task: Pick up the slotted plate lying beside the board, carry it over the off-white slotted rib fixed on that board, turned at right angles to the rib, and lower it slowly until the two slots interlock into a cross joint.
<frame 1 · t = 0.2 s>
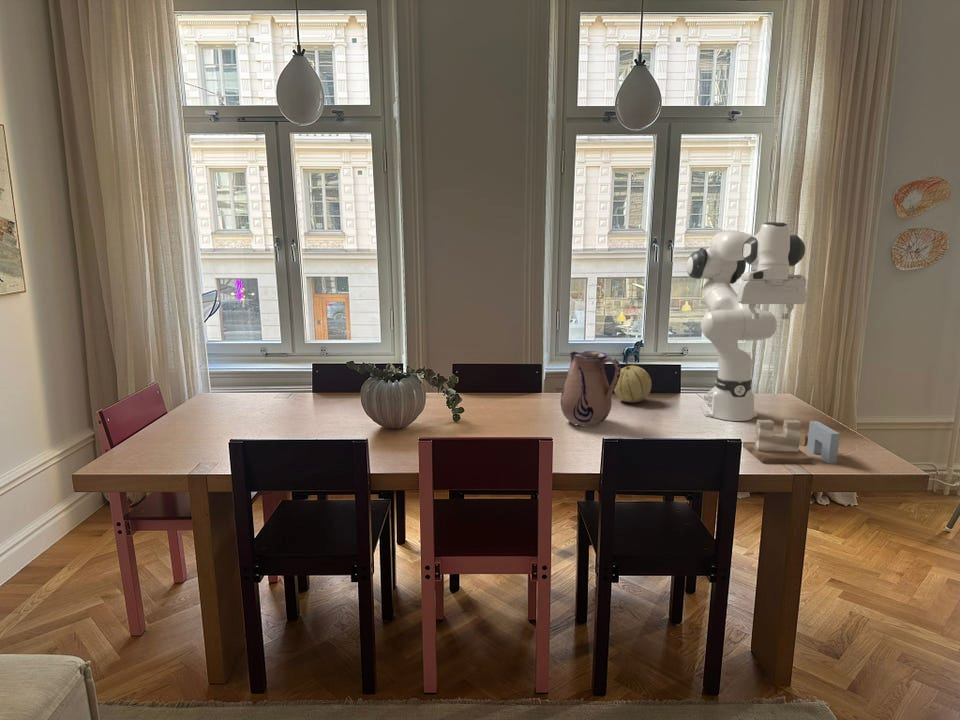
hand: (770, 318, 191), 39 cm above the table, tool pointing down, fingers open, 8 cm apart
slotted plate: (821, 456, 181), on the table
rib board: (775, 454, 183), on the table
ceramic pitcher: (589, 424, 213), on the table
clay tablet: (786, 439, 198), on the table
cantaloupe: (631, 402, 241), on the table
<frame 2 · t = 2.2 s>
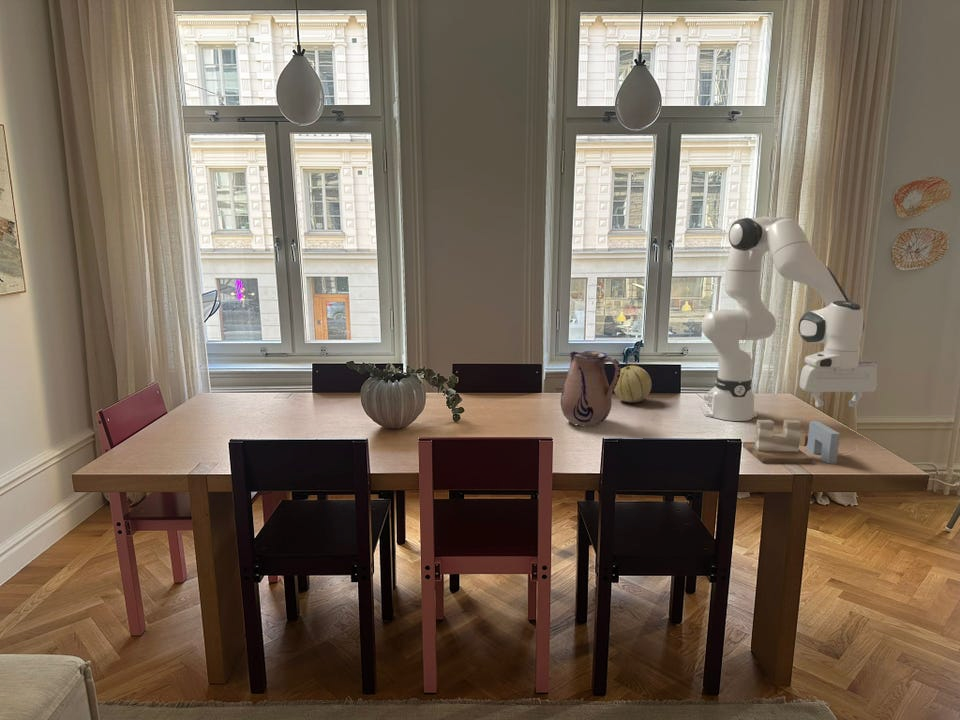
hand: (835, 406, 174), 17 cm above the table, tool pointing down, fingers open, 8 cm apart
nothing on the table moved.
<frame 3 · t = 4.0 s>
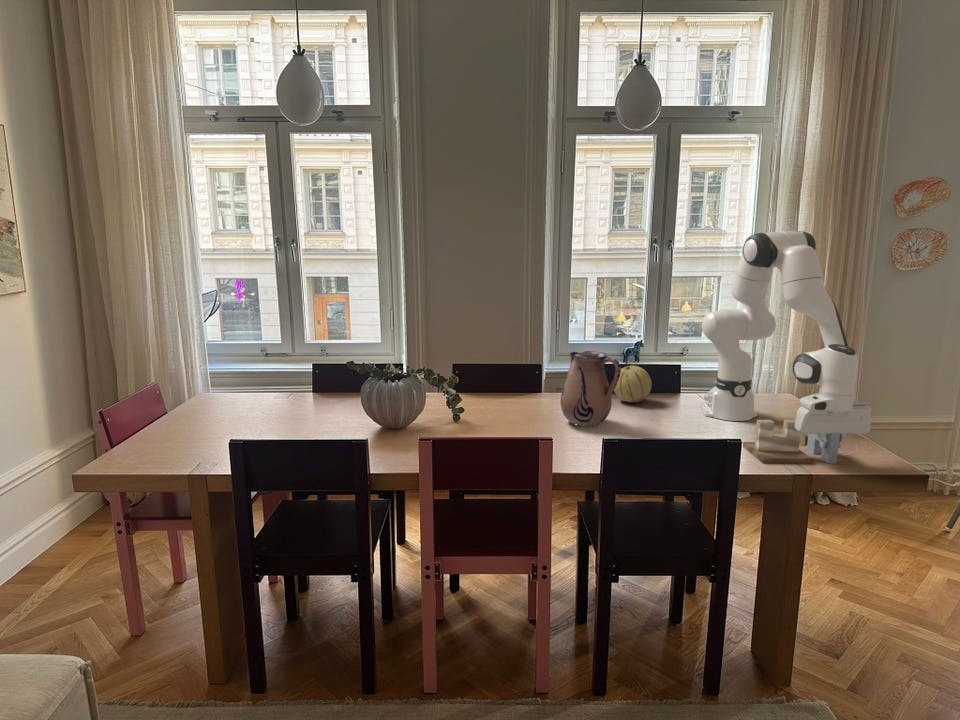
hand: (829, 447, 177), 4 cm above the table, tool pointing down, fingers closed on slotted plate, 2 cm apart
slotted plate: (821, 456, 181), on the table, touching gripper
everything else where it was.
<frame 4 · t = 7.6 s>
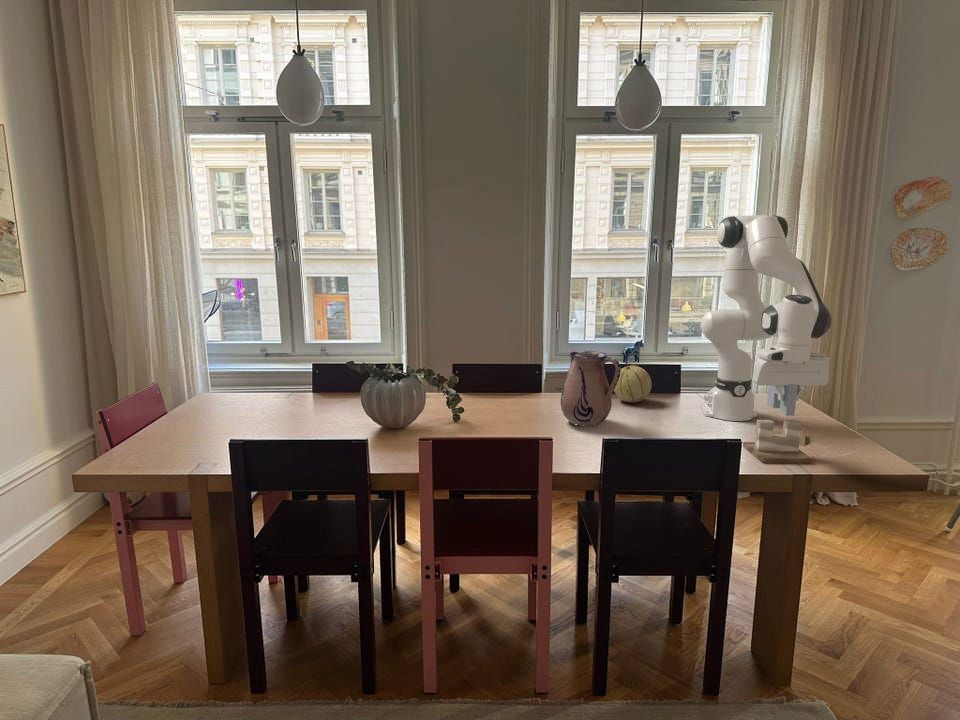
hand: (788, 399, 175), 18 cm above the table, tool pointing down, fingers closed on slotted plate, 2 cm apart
slotted plate: (780, 409, 180), point 14 cm above the table, touching gripper
everything else where it was.
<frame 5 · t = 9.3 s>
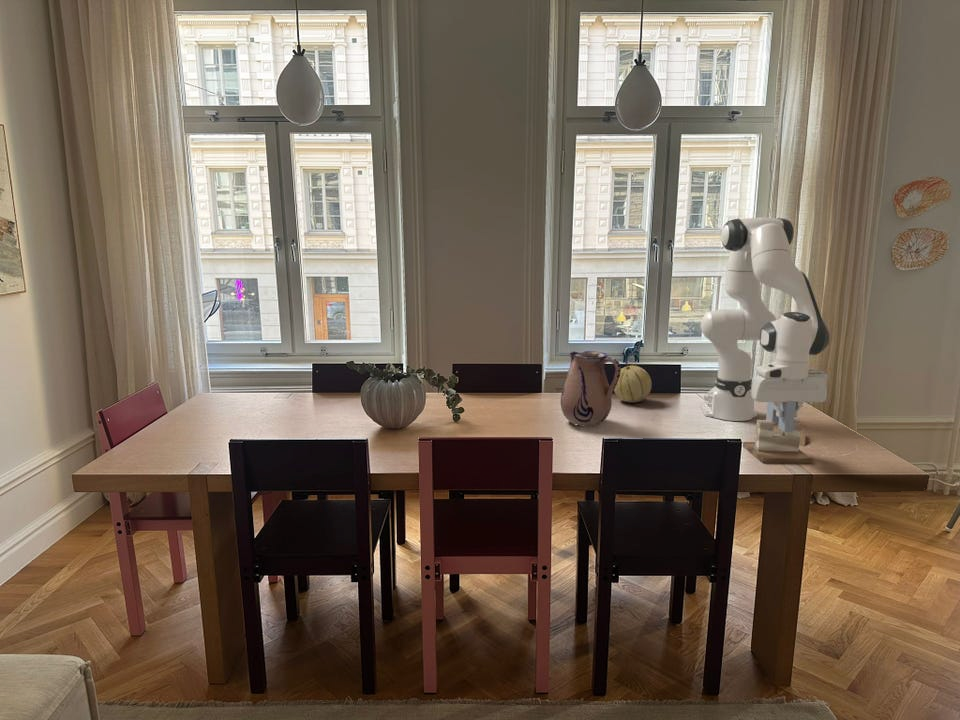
hand: (786, 416, 176), 13 cm above the table, tool pointing down, fingers closed on slotted plate, 2 cm apart
slotted plate: (778, 426, 181), point 9 cm above the table, touching gripper
everything else where it was.
when the fingers open (6 cm above the table, at t = 11.0 s): slotted plate stays where it is, resting on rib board.
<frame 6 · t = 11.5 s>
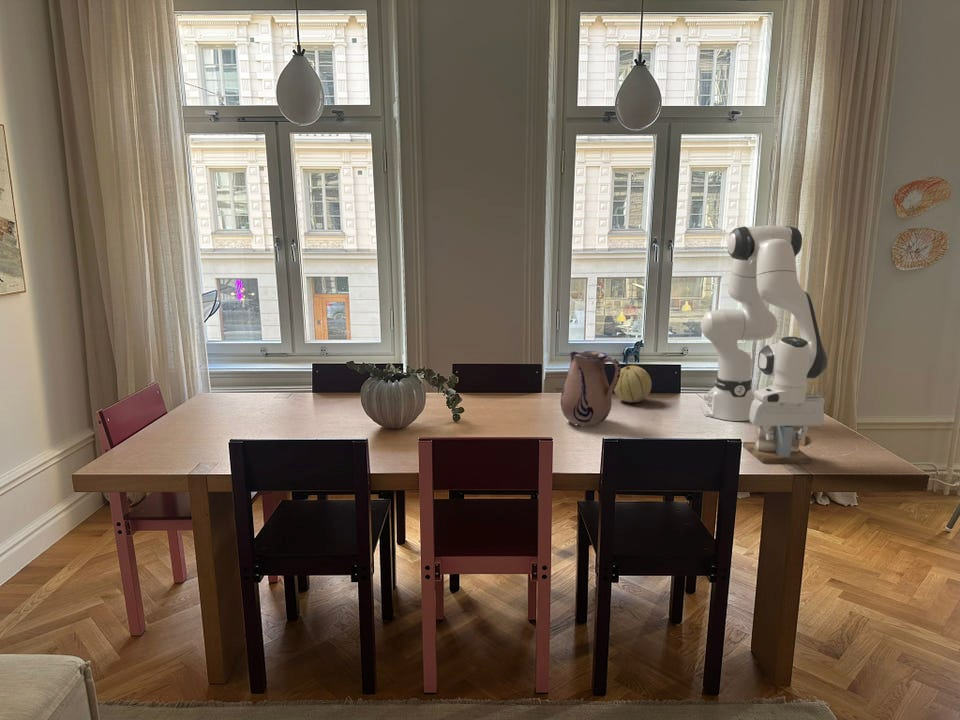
hand: (783, 439, 178), 6 cm above the table, tool pointing down, fingers open, 7 cm apart
slotted plate: (776, 450, 182), point 1 cm above the table, touching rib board
everything else where it was.
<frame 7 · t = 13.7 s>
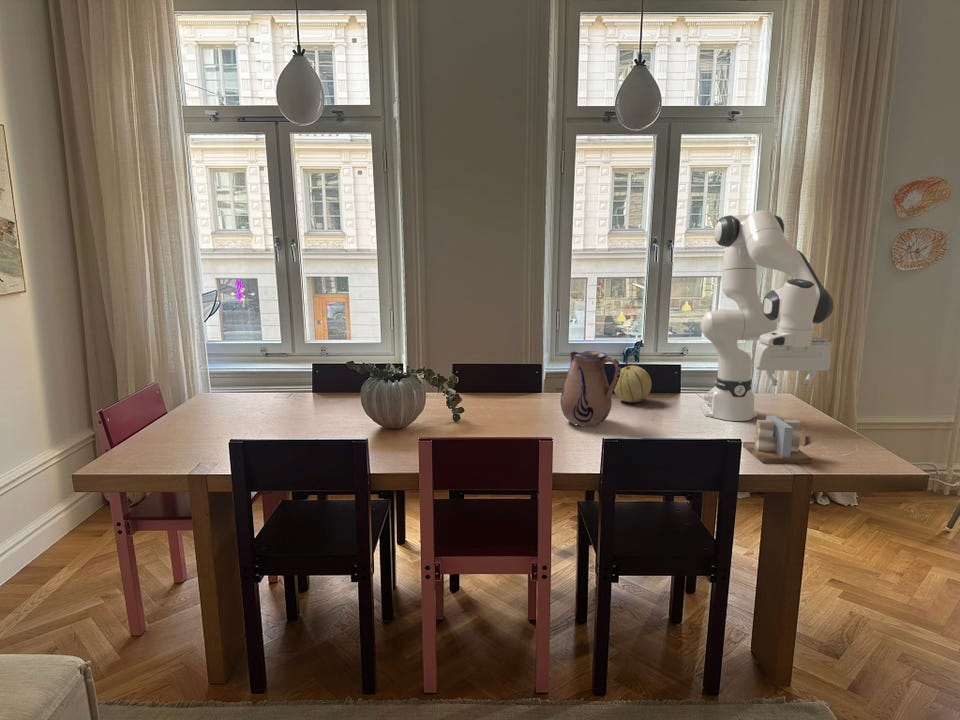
hand: (789, 385, 174), 22 cm above the table, tool pointing down, fingers open, 8 cm apart
nothing on the table moved.
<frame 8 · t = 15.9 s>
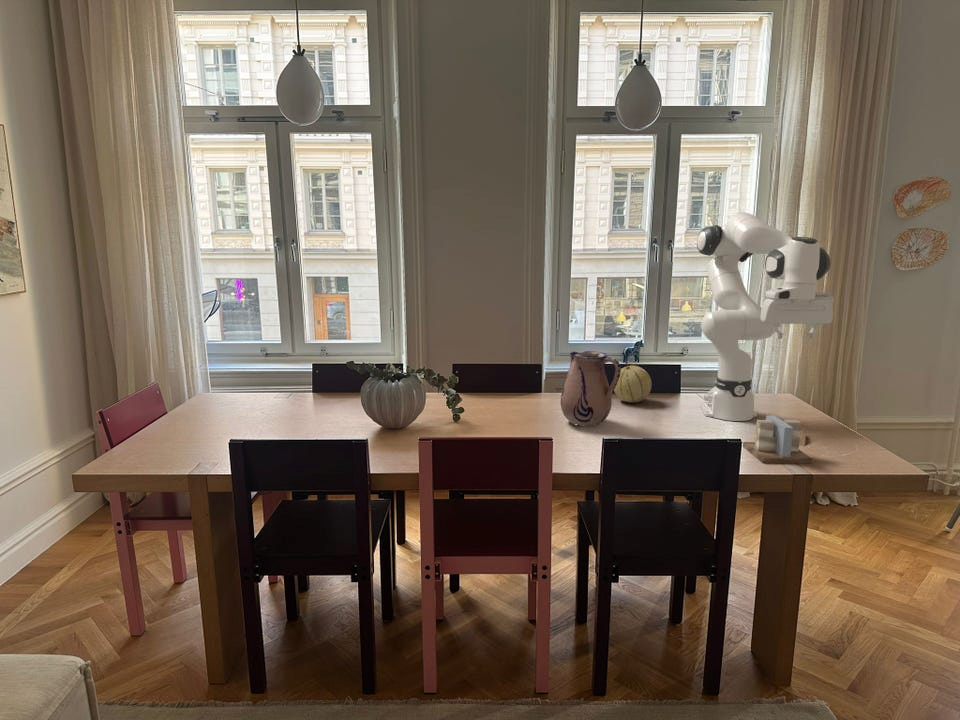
hand: (794, 338, 183), 34 cm above the table, tool pointing down, fingers open, 8 cm apart
nothing on the table moved.
at the end: slotted plate 0.2 cm off-centre on the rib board, point 1.5 cm above the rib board's base; slotted plate tilted 0°; the gripper is holding nothing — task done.
